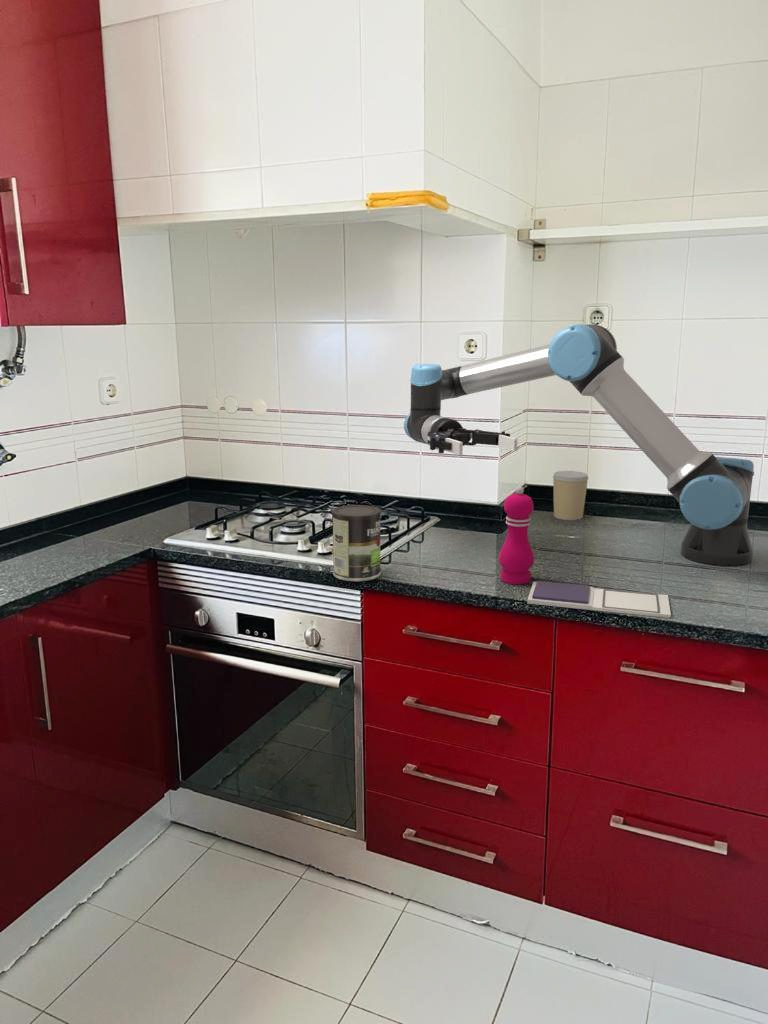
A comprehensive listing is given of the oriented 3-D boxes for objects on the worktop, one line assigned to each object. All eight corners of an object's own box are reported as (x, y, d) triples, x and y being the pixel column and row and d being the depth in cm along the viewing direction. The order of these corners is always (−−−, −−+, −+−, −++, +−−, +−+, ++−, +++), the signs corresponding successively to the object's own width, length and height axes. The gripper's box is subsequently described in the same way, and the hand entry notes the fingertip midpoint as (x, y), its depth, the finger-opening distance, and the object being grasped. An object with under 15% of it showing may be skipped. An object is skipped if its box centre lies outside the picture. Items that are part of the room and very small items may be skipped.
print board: (667, 598, 154) (667, 594, 154) (670, 618, 144) (670, 614, 144) (593, 590, 158) (594, 587, 158) (591, 610, 148) (591, 606, 147)
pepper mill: (506, 586, 160) (510, 491, 155) (492, 575, 167) (495, 483, 162) (539, 583, 162) (543, 488, 157) (523, 572, 169) (527, 481, 164)
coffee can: (388, 569, 171) (388, 506, 168) (369, 584, 162) (369, 518, 158) (344, 564, 175) (344, 502, 171) (324, 578, 165) (323, 513, 162)
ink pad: (593, 590, 158) (594, 584, 157) (591, 610, 148) (592, 603, 147) (533, 585, 161) (533, 579, 161) (527, 603, 151) (527, 597, 151)
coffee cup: (575, 511, 222) (577, 469, 219) (592, 519, 213) (594, 476, 210) (545, 513, 220) (547, 471, 217) (560, 521, 211) (563, 478, 208)
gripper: (487, 445, 194) (536, 460, 175) (395, 451, 184) (436, 468, 165) (488, 415, 192) (538, 426, 173) (395, 420, 182) (437, 432, 163)
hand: (488, 447), depth 169 cm, fingers open, 13 cm apart
